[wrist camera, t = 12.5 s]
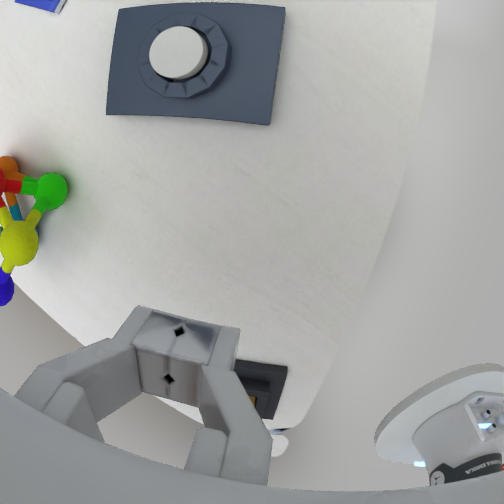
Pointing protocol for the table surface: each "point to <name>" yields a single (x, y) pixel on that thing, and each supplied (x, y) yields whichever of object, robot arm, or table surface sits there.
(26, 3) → the hard drive
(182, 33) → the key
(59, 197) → the molecular model
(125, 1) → the table surface
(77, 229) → the table surface
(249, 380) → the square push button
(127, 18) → the push button box
